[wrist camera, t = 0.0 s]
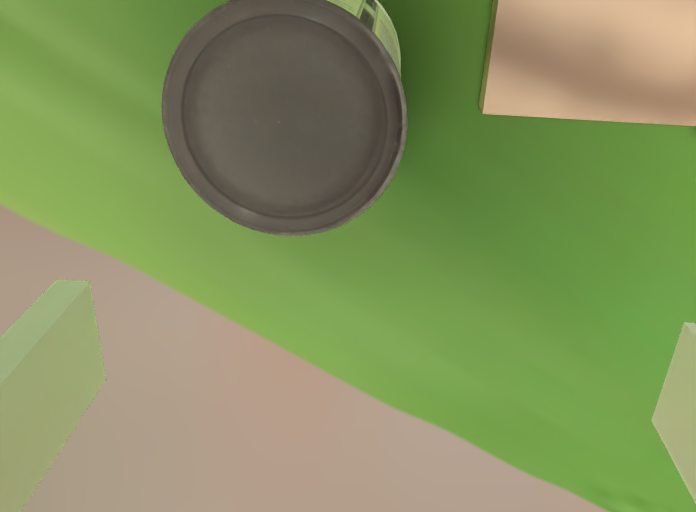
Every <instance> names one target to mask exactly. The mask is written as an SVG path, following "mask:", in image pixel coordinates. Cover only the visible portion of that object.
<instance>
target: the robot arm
mask: <svg viewBox="0 0 696 512" xmlns="http://www.w3.org/2000/svg"><path fill="white" fill-rule="evenodd" d="M105 381H106V376H105V370H104V363H103V357H102V351H101V345H100V339H99V332H98V326H97V320H96V314H95V308H94V301H93V295H92V289H91V283H90V281H77V280H63V279H57V280H55V282H54V283H53V284H52V285H51V286H50V287H49V288H48V289H47V290H46V291H45V292H44V293H43V294H42V295H41V296H40V297H39V298H38V299H37V300H36V301H35V302H34V303H33V304H32V305H31V306H30V307H29V308H28V309H27V310H26V311H25V312H24V313H23V314H22V316H20V317H19V318H18V320H17V321H16V322H15V323H14V324H13V325H12V326H11V327H10V328H9V329H8V330H7V331H6V332H5V333H4V334H3V335H2V336H1V337H0V512H21V511H22V510H23V508H24V507H25V505H26V504H27V502H28V501H29V499H30V497H31V496H32V494H33V493H34V491H35V490H36V488H37V487H38V485H39V483H40V482H41V480H42V479H43V477H44V476H45V474H46V473H47V471H48V470H49V468H50V466H51V465H52V463H53V462H54V460H55V458H56V457H57V455H58V454H59V452H60V451H61V449H62V448H63V446H64V445H65V443H66V442H67V440H68V438H69V437H70V435H71V434H72V432H73V431H74V429H75V428H76V426H77V424H78V423H79V421H80V420H81V418H82V416H83V415H84V413H85V412H86V410H87V409H88V407H89V406H90V404H91V403H92V401H93V400H94V398H95V396H96V395H97V393H98V392H99V390H100V389H101V387H102V386H103V384H104V382H105ZM651 421H652V423H653V425H654V426H655V428H656V430H657V432H658V434H659V436H660V438H661V440H662V441H663V443H664V445H665V447H666V449H667V451H668V453H669V455H670V457H671V458H672V460H673V462H674V464H675V466H676V468H677V470H678V472H679V473H680V475H681V477H682V479H683V481H684V483H685V485H686V487H687V489H688V490H689V492H690V494H691V496H692V498H693V500H694V502H695V504H696V323H687V322H684V324H683V327H682V330H681V333H680V336H679V339H678V342H677V345H676V348H675V351H674V354H673V357H672V360H671V363H670V366H669V369H668V372H667V375H666V378H665V381H664V384H663V387H662V390H661V393H660V396H659V399H658V402H657V405H656V408H655V411H654V414H653V417H652V420H651Z"/></svg>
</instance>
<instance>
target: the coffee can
mask: <svg viewBox="0 0 696 512" xmlns="http://www.w3.org/2000/svg"><path fill="white" fill-rule="evenodd" d="M400 70H401V53H400V46H399V41H398V36H397V32H396V30H395V28H394V26H393V23H392V21H391V19H390V17H389V15H388V14H387V12H386V10H385V9H384V7H383V6H382V5H381V4H380V2H379V1H378V0H231V1H228V2H226V3H224V4H222V5H221V6H219V7H217V8H215V9H213V10H212V11H211V12H209V13H208V14H206V15H205V16H204V17H203V18H201V19H200V20H199V21H198V22H197V23H196V24H194V25H193V27H192V28H191V29H190V30H189V31H188V32H187V34H186V35H185V36H184V38H183V39H182V41H181V42H180V43H179V45H178V47H177V49H176V51H175V53H174V55H173V57H172V59H171V62H170V64H169V67H168V70H167V73H166V77H165V81H164V87H163V92H162V120H163V127H164V132H165V136H166V139H167V143H168V146H169V148H170V151H171V153H172V156H173V158H174V160H175V162H176V165H177V167H178V168H179V170H180V171H181V173H182V175H183V177H184V178H185V180H186V181H187V182H188V184H189V185H190V186H191V187H192V189H193V190H194V191H195V192H196V193H197V194H198V195H199V196H200V197H201V198H202V199H203V200H204V201H205V202H206V203H207V204H208V205H209V206H211V207H212V208H213V209H214V210H216V211H217V212H219V213H220V214H222V215H223V216H225V217H226V218H228V219H230V220H231V221H233V222H235V223H237V224H240V225H242V226H244V227H247V228H250V229H252V230H256V231H260V232H264V233H268V234H273V235H283V236H303V235H310V234H315V233H320V232H325V231H328V230H331V229H333V228H336V227H338V226H341V225H343V224H345V223H347V222H349V221H351V220H352V219H354V218H356V217H357V216H359V215H360V214H361V213H363V212H364V211H365V210H366V209H368V208H369V207H370V206H371V205H372V204H373V203H374V202H375V201H376V200H377V199H378V198H379V197H380V196H381V195H382V193H383V192H384V191H385V189H386V188H387V187H388V185H389V184H390V182H391V180H392V178H393V176H394V175H395V173H396V171H397V169H398V166H399V164H400V161H401V158H402V155H403V152H404V148H405V144H406V137H407V122H408V114H407V103H406V97H405V92H404V88H403V84H402V80H401V72H400Z"/></svg>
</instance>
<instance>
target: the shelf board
mask: <svg viewBox="0 0 696 512" xmlns="http://www.w3.org/2000/svg"><path fill="white" fill-rule="evenodd" d="M479 108H480V110H481V112H482V114H494V115H511V116H528V117H546V118H563V119H580V120H598V121H615V122H632V123H650V124H667V125H685V126H696V0H493V3H492V10H491V18H490V25H489V33H488V40H487V47H486V55H485V62H484V70H483V77H482V84H481V92H480V99H479Z"/></svg>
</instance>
